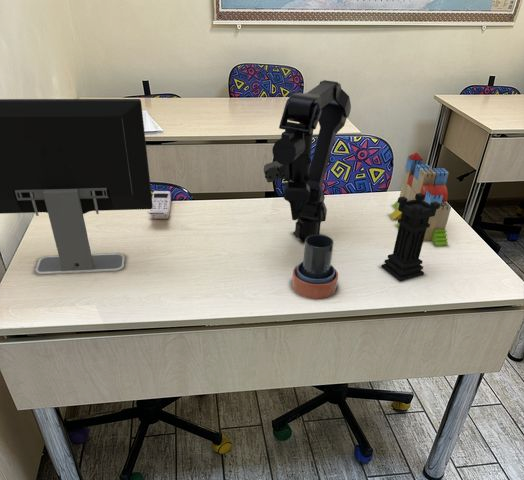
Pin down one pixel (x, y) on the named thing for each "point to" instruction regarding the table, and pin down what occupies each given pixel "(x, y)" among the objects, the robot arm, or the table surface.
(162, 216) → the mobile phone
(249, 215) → the table surface
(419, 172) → the block set
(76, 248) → the computer monitor
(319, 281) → the stack middle
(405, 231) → the chess piece
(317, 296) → the stack bottom
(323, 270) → the tumbler
